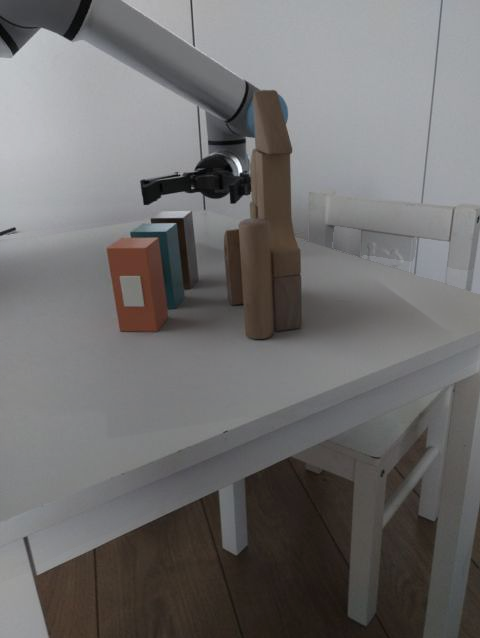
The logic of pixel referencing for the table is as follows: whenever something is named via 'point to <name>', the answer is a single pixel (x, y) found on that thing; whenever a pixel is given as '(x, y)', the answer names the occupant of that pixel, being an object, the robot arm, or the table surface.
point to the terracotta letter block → (138, 284)
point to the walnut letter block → (183, 242)
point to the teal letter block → (166, 258)
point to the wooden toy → (266, 232)
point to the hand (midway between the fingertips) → (187, 195)
